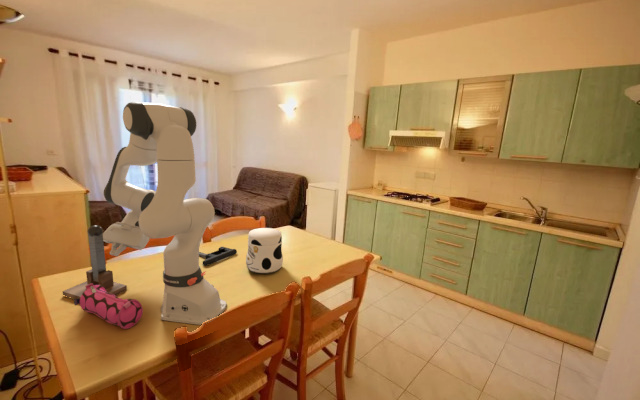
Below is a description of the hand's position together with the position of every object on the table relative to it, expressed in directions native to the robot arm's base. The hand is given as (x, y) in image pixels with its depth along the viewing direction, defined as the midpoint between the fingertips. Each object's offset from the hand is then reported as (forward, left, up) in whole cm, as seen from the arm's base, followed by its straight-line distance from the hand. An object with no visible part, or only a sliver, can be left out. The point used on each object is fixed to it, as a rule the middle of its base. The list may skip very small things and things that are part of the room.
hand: (113, 255), depth 113 cm
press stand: (0, +8, -12) cm, 15 cm away
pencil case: (-19, +16, -13) cm, 28 cm away
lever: (0, +6, -8) cm, 10 cm away
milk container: (-47, -37, -13) cm, 61 cm away
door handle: (-17, -39, -13) cm, 44 cm away
